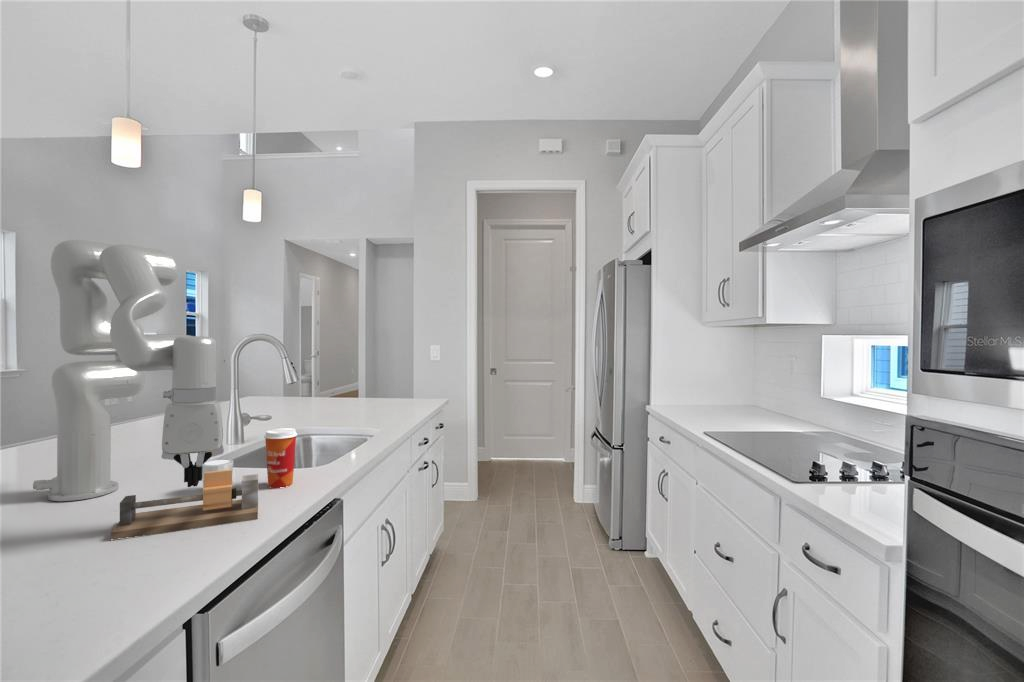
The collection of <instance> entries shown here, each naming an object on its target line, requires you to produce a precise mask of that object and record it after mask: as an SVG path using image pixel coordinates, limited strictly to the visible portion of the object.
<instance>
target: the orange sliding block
mask: <svg viewBox="0 0 1024 682" xmlns="http://www.w3.org/2000/svg"><path fill="white" fill-rule="evenodd" d="M233 484H234V481H233V471H232V469H230V470H221V471H211V472H204V489H202V494H203V500H202V504H203V510H211V509H218V508H225V507H231V506H232V501H233V499H232V488H234V487H233Z"/></svg>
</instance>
